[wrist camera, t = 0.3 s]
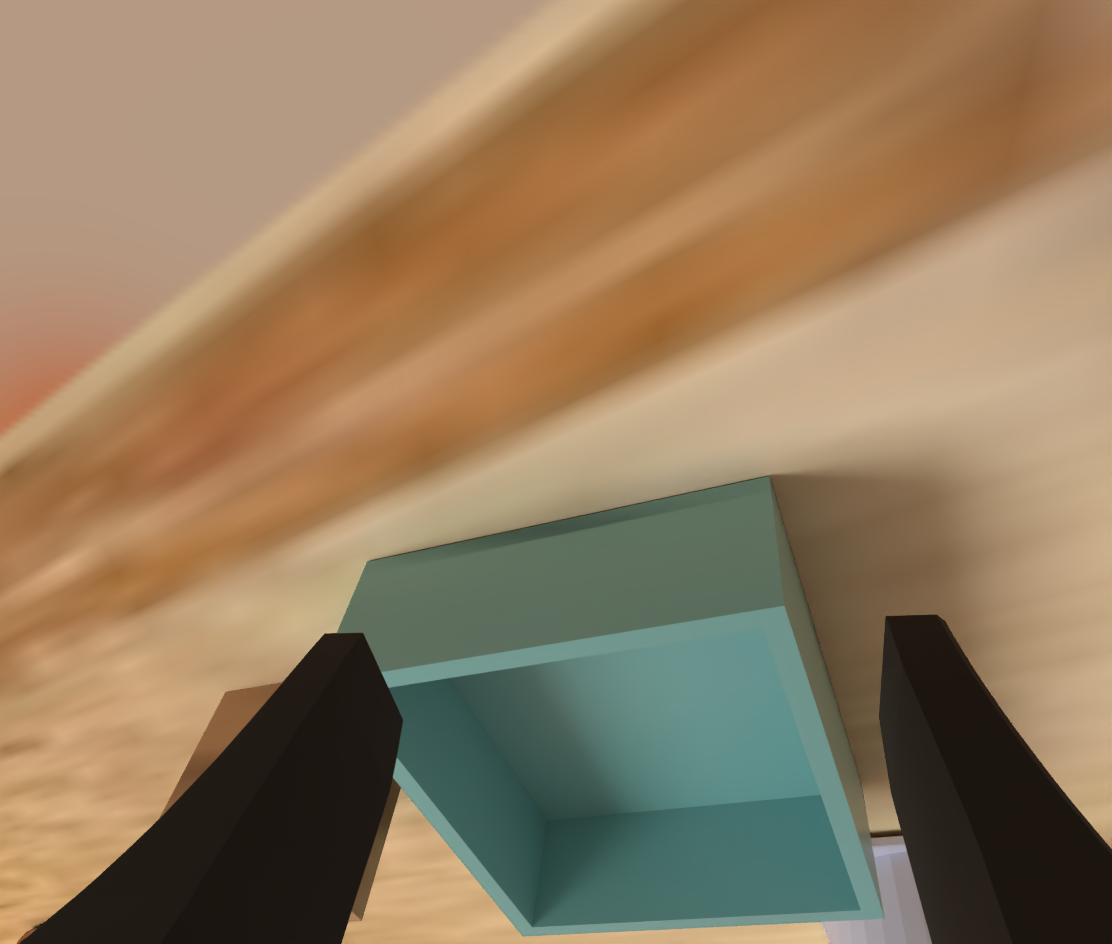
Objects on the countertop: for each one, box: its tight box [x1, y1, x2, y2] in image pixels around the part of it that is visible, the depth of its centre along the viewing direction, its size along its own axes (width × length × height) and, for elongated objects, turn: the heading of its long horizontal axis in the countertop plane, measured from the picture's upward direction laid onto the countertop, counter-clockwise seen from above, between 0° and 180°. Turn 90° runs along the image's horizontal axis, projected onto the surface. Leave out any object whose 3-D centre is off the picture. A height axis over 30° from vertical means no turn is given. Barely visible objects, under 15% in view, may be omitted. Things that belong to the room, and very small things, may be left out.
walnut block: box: [159, 683, 401, 922], centre depth 29 cm, size 5×5×6 cm
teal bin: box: [337, 476, 885, 936], centre depth 26 cm, size 14×12×4 cm
